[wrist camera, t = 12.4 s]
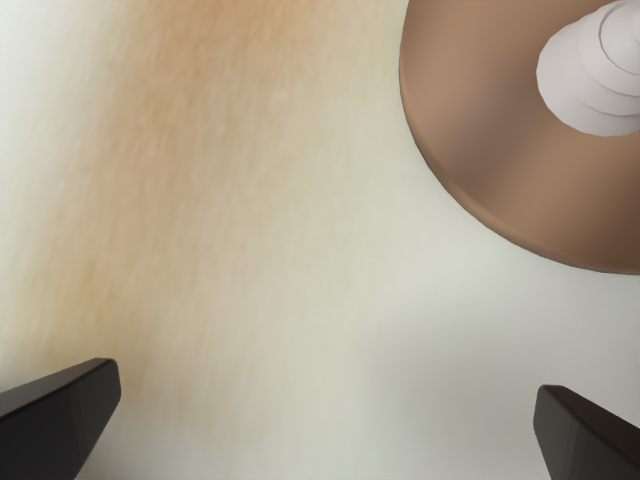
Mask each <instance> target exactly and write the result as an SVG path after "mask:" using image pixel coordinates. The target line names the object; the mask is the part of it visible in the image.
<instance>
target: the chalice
mask: <svg viewBox="0 0 640 480" xmlns="http://www.w3.org/2000/svg"><path fill="white" fill-rule="evenodd" d="M536 75H537V82H538V88H539V92H540V94H541V96H542V98H543V99H544V101H545V103H546V105H547V107H548V108H549V109H550V110H551V111H552V112H553V113H554V114H555V115H556V116H557V117H558V118H559V119H560V120H561V121H562V122H563V123H565V124H567V125H569V126H571V127H573V128H575V129H577V130H579V131H580V132H583V133H588V134H593V135H597V136H602V137H608V136H621V135H627V134H630V133H633V132H635V131H638V130H640V0H619V1H615V2H613V3H610V4H607V5H605V6H602V7H601V8H599V9H598V10H597V11H596V12H594V13H591V14H589V15H586V16H584V17H582V18H581V19H580V20H579V21H577V22H575V23H572V24H569V25H567V26H565V27H563V28H562V29H561V30H560V31H558V32H557V33H556V34H555V35H553V36H552V37H551V38H550V39H549V41H548V42H547V44H546V45H545V47H544V48H543V50H542V52H541V53H540V56H539V61H538V66H537V70H536Z"/></svg>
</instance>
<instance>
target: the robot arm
mask: <svg viewBox="0 0 640 480" xmlns="http://www.w3.org/2000/svg"><path fill="white" fill-rule="evenodd" d="M120 398H121V385H120V378H119V371H118V365H117V362H116V361H115V360H114V359H110V358H94V359H91V360H88V361H86V362H83V363H80V364H78V365H75V366H72V367H70V368H67V369H64V370H62V371H59V372H56V373H54V374H51V375H48V376H46V377H43V378H40V379H38V380H35V381H32V382H30V383H27V384H24V385H21V386H19V387H16V388H13V389H11V390H8V391H5V392H3V393H0V480H74V479H75V478H76V476H77V475H78V473H79V471H80V470H81V468H82V467H83V465H84V463H85V462H86V460H87V458H88V457H89V455H90V453H91V452H92V450H93V448H94V446H95V444H96V443H97V441H98V439H99V437H100V435H101V434H102V432H103V430H104V428H105V427H106V425H107V423H108V421H109V419H110V418H111V416H112V414H113V412H114V411H115V409H116V407H117V405H118V403H119V401H120ZM533 425H534V431H535V434H536V437H537V440H538V443H539V446H540V449H541V452H542V454H543V457H544V460H545V463H546V466H547V469H548V472H549V474H550V477H551V480H640V429H639V428H638V427H636V426H634V425H632V424H630V423H629V422H627V421H625V420H623V419H622V418H620V417H618V416H616V415H614V414H613V413H611V412H609V411H607V410H605V409H604V408H602V407H600V406H598V405H597V404H595V403H593V402H591V401H589V400H588V399H586V398H584V397H582V396H580V395H579V394H577V393H575V392H573V391H572V390H570V389H568V388H566V387H564V386H560V385H542V386H540V388H539V390H538V393H537V400H536V406H535V412H534V419H533Z"/></svg>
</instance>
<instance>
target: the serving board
mask: <svg viewBox="0 0 640 480" xmlns="http://www.w3.org/2000/svg"><path fill="white" fill-rule="evenodd" d="M615 1H619V0H409V3H408V8H407V12H406V17H405V22H404V27H403V33H402V39H401V45H400V57H399V82H400V94H401V99H402V104H403V108H404V112H405V117H406V120H407V123H408V126H409V128H410V131H411V133H412V136H413V139H414V141H415V144H416V145H417V147H418V149H419V151H420V153H421V154H422V156H423V158H424V160H425V162H426V163H427V165H428V167H429V168H430V170H431V171H432V172H433V174H434V175H435V176H436V178H437V179H438V180H439V182H440V183H441V184H442V186H443V187H444V188H445V190H446V191H447V192H448V193H449V194H450V195H451V196H452V197H453V198H454V199H455V200H456V201H457V202H458V203H459V204H460V205H461V206H462V207H463V208H464V209H465V210H466V211H467V212H469V213H470V214H471V215H472V216H474V217H475V218H476V219H477V220H479V221H480V222H481V223H482V224H484V225H485V226H486V227H487V228H489V229H491V230H492V231H494V232H495V233H497V234H499V235H500V236H502V237H503V238H505V239H507V240H508V241H510V242H511V243H513V244H515V245H517V246H520V247H522V248H524V249H526V250H528V251H530V252H532V253H535V254H537V255H539V256H541V257H544V258H547V259H550V260H553V261H556V262H559V263H563V264H566V265H569V266H572V267H577V268H582V269H587V270H592V271H597V272H602V273H615V274H628V275H640V130H638V131H635V132H633V133H630V134H627V135H621V136H608V137H602V136H597V135H593V134H588V133H583V132H580V131H579V130H577V129H575V128H573V127H571V126H569V125H567V124H565V123H563V122H562V121H561V120H560V119H559V118H558V117H557V116H556V115H555V114H554V113H553V112H552V111H551V110H550V109H549V108H548V107H547V105H546V103H545V101H544V99H543V98H542V96H541V94H540V92H539V88H538V82H537V75H536V70H537V66H538V61H539V56H540V53H541V52H542V50H543V48H544V47H545V45H546V44H547V42H548V41H549V39H550V38H551V37H552V36H553V35H555V34H556V33H557V32H558V31H560V30H561V29H562V28H563V27H565V26H567V25H569V24H572V23H575V22H577V21H579V20H580V19H581V18H582V17H584V16H586V15H589V14H591V13H594V12H596V11H597V10H598V9H599V8H601V7H602V6H605V5H607V4H610V3H613V2H615Z"/></svg>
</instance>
